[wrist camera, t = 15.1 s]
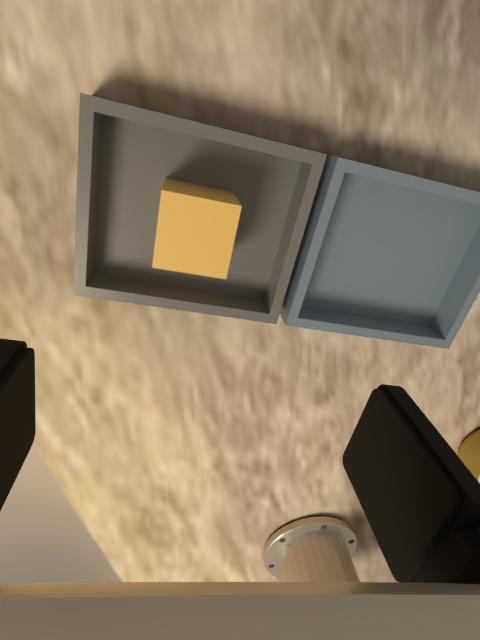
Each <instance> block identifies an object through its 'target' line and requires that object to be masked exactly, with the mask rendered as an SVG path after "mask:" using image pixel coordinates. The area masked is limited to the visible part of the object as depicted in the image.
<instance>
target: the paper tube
mask: <svg viewBox="0 0 480 640" xmlns="http://www.w3.org/2000/svg"><path fill="white" fill-rule="evenodd" d="M458 457H459V458H460V459H461V461H462V462H463V463H464V464H465V466H466V467H467V468H468V469H469V471H470V472H471V473H472V474H473V476H474V477H475V478H476V479H477V481H478V482H479V483H480V429H479V430H477V431H475V432H473V433H472V434H470V435H469V436H468V437H467V438H466V439H465V440H464V441H463V442H462V444H461V445H460V447H459V450H458Z"/></svg>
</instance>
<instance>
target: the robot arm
mask: <svg viewBox="0 0 480 640" xmlns="http://www.w3.org/2000/svg"><path fill="white" fill-rule="evenodd" d="M34 437H35V356H34V349H33V348H27V345H26V342H24V341H16V340H8V339H0V511H1V508H2V506H3V504H4V502H5V500H6V498H7V496H8V494H9V492H10V490H11V488H12V486H13V484H14V482H15V479H16V477H17V475H18V473H19V471H20V469H21V467H22V465H23V463H24V461H25V459H26V457H27V454H28V452H29V450H30V448H31V446H32V444H33V441H34ZM343 465H344V468H345V470H346V473H347V475H348V477H349V479H350V481H351V484H352V486H353V488H354V490H355V493H356V495H357V497H358V499H359V501H360V504H361V506H362V508H363V510H364V513H365V515H366V517H367V519H368V521H369V524H370V526H371V528H372V530H373V533H374V535H375V537H376V539H377V541H378V544H379V546H380V548H381V550H382V553H383V555H384V557H385V559H386V561H387V564H388V566H389V568H390V570H391V573H392V575H393V577H394V578H395V579H396V581H398V582H400V583H378V582H360V580H359V578H358V575H357V572H356V570H355V567H354V564H353V562H352V559H351V558H352V556H353V555H354V553H355V551H356V549H357V538H356V536H355V533H354V531H353V529H352V528H351V526H350V525H349V524H347V523H346V522H344V521H342V520H340V519H337V518H333V517H325V516H318V517H309V518H304V519H300V520H297V521H294V522H292V523H290V524H287V525H285V526H284V527H282V528H280V529H279V530H278V531H276V532H275V533H274V534H273V535H272V536H271V537H270V538H269V539H268V541H267V542H266V544H265V546H264V549H263V560H264V564H265V567H266V569H267V570H268V571H269V572H270V573H271V574H272V575H274V576H276V577H278V578H279V580H280V582H92V583H89V582H85V583H83V582H81V583H36V584H35V583H34V584H0V640H480V483H479V482H478V481H477V479H476V478H475V477H474V476H473V474H472V473H471V472H470V471H469V469H468V468H467V467H466V466H465V464H464V463H463V462H462V461H461V459H460V458H459V457H458V456H457V454H456V453H455V452H454V451H453V450H452V448H451V447H450V446H449V445H448V443H447V442H446V441H445V440H444V438H443V437H442V436H441V435H440V433H439V432H438V431H437V430H436V428H435V427H434V426H433V425H432V423H431V422H430V421H429V420H428V418H427V417H426V416H425V415H424V413H423V412H422V411H421V410H420V408H419V407H418V406H417V405H416V403H415V402H414V401H413V400H412V398H411V397H410V396H409V395H408V394H407V392H406V391H405V390H404V389H403V388H402V387H400V386H392V385H384V384H383V385H380V386H379V387H378V388H377V389H374V390H373V391H372V393H371V395H370V397H369V399H368V402H367V404H366V406H365V408H364V410H363V413H362V415H361V417H360V419H359V421H358V424H357V426H356V428H355V430H354V432H353V434H352V437H351V439H350V441H349V443H348V445H347V448H346V450H345V452H344V455H343Z"/></svg>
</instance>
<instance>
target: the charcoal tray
mask: <svg viewBox="0 0 480 640" xmlns="http://www.w3.org/2000/svg"><path fill="white" fill-rule="evenodd" d="M326 157H327V154H324V153H320V152H317V151H313V150H309V149H305V148H301V147H297V146H293V145H289V144H285V143H281V142H277V141H273V140H269V139H265V138H261V137H257V136H253V135H249V134H245V133H241V132H237V131H233V130H229V129H225V128H221V127H216V126H212V125H208V124H204V123H200V122H196V121H192V120H188V119H184V118H180V117H176V116H172V115H168V114H164V113H160V112H156V111H152V110H148V109H144V108H140V107H136V106H132V105H128V104H124V103H120V102H116V101H112V100H108V99H104V98H100V97H96V96H92V95H87V94H83V93H80V113H79V143H78V173H77V203H76V233H75V263H74V293H73V295H79V296H86V297H93V298H100V299H107V300H114V301H121V302H127V303H134V304H141V305H148V306H155V307H162V308H169V309H176V310H183V311H190V312H197V313H204V314H211V315H218V316H225V317H232V318H239V319H246V320H253V321H259V322H266V323H273V324H277V320H278V317H279V314H280V310H281V307H282V304H283V300H284V297H285V294H286V290H287V287H288V284H289V280H290V277H291V274H292V270H293V267H294V264H295V260H296V257H297V254H298V250H299V247H300V244H301V240H302V237H303V234H304V230H305V227H306V224H307V220H308V217H309V214H310V210H311V207H312V204H313V200H314V197H315V194H316V190H317V187H318V183H319V180H320V177H321V173H322V170H323V167H324V163H325V160H326ZM165 178H167V179H172V180H177V181H182V182H187V183H192V184H196V185H201V186H206V187H211V188H216V189H220V190H225V191H230V192H234V194H235V196H236V197H237V199H238V201H239V202H240V204H241V205H242V208H241V213H240V217H239V222H238V227H237V231H236V236H235V241H234V245H233V250H232V255H231V259H230V264H229V269H228V273H227V278H226V279H221V278H214V277H208V276H202V275H195V274H189V273H183V272H176V271H170V270H164V269H158V268H152V263H153V255H154V247H155V239H156V230H157V222H158V214H159V206H160V197H161V190H162V187H163V184H164V181H165Z"/></svg>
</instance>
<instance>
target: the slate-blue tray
mask: <svg viewBox="0 0 480 640" xmlns="http://www.w3.org/2000/svg"><path fill="white" fill-rule="evenodd" d="M324 154H325V153H324ZM479 292H480V192H478V191H474V190H470V189H466V188H462V187H458V186H454V185H450V184H446V183H442V182H438V181H433V180H429V179H425V178H421V177H417V176H413V175H409V174H405V173H401V172H397V171H393V170H389V169H385V168H381V167H377V166H373V165H369V164H365V163H361V162H357V161H353V160H349V159H345V158H341V157H337V156H333V155H329V154H327V157H326V160H325V163H324V167H323V170H322V173H321V177H320V180H319V183H318V187H317V190H316V194H315V197H314V200H313V204H312V207H311V210H310V214H309V217H308V220H307V224H306V227H305V230H304V234H303V237H302V240H301V244H300V247H299V250H298V254H297V257H296V260H295V264H294V267H293V270H292V274H291V277H290V280H289V284H288V287H287V290H286V294H285V297H284V300H283V304H282V307H281V310H280V314H281V316H282V319H283V321H284V323H285V325H287V326H294V327H301V328H308V329H315V330H322V331H329V332H336V333H343V334H350V335H357V336H364V337H371V338H378V339H385V340H391V341H398V342H405V343H412V344H419V345H426V346H433V347H440V348H447V349H449V347H450V345H451V343H452V342H453V340H454V338H455V336H456V334H457V332H458V330H459V329H460V327H461V325H462V323H463V321H464V319H465V318H466V316H467V314H468V312H469V310H470V308H471V306H472V305H473V303H474V301H475V299H476V297H477V295H478V294H479Z"/></svg>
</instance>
